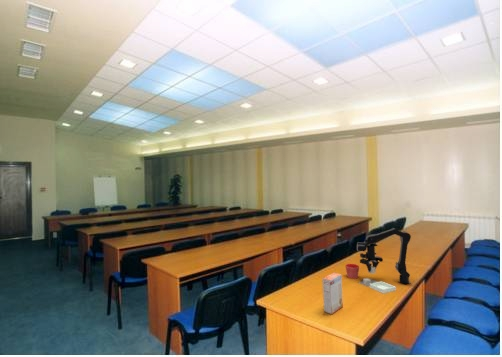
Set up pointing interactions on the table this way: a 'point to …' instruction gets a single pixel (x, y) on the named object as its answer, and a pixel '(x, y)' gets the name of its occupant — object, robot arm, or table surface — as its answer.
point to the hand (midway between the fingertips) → (371, 271)
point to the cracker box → (332, 293)
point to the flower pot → (352, 270)
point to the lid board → (371, 281)
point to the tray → (382, 287)
